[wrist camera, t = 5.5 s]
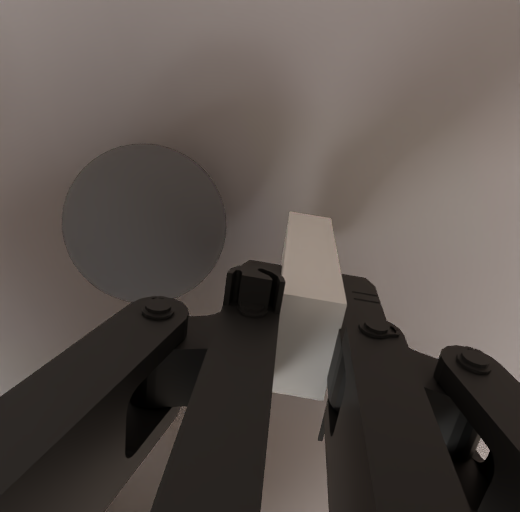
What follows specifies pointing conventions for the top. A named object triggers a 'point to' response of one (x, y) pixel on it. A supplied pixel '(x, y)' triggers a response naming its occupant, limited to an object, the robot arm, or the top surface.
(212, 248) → the dark gray ball
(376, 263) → the top surface
